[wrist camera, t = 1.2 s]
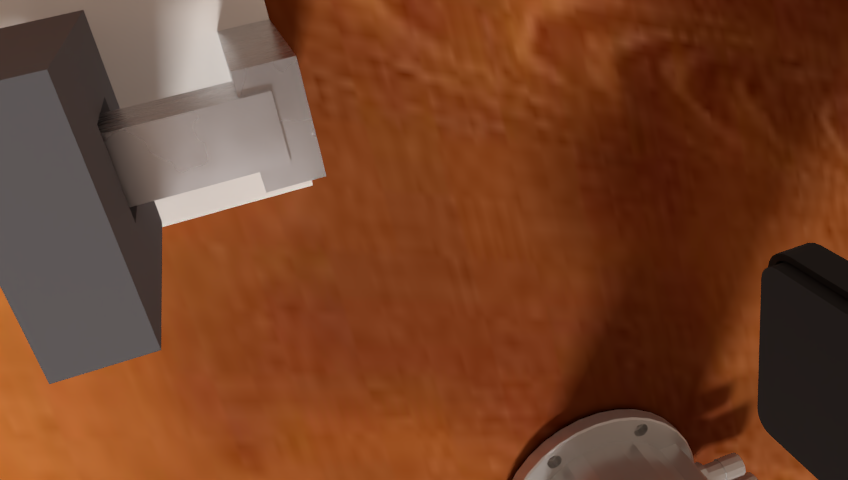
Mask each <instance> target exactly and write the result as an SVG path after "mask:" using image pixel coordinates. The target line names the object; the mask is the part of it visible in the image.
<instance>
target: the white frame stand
mask: <svg viewBox="0 0 848 480" xmlns="http://www.w3.org/2000/svg"><path fill="white" fill-rule="evenodd" d="M217 33H218V36H219V40H220V43H221V46H222V50H223V53H224V57H225V60H226V63H227V67H228V70H229V73H230V77H231V80H232V81H230V82H226V83H222V84H218V85H214V86H210V87H206V88H202V89H198V90H194V91H190V92H186V93H182V94H178V95H174V96H170V97H166V98H162V99H158V100H154V101H150V102H146V103H142V104H138V105H134V106H129V107H125V108H121V109H117V110H113V111H109V112H105V113H101V114H100V115H99V119H98V123H97V125H98V128H99V131H100V133H101V136H102V138H103V141H104V143H105V146H106V149H107V151H108V154H109V156H110V159H111V161H112V164H113V167H114V169H115V172H116V174H117V177H118V179H119V182H120V185H121V187H122V190H123V192H124V195H125V197H126V200H127V203H128V205H129V207H133V206H137V205H140V204H144V203H148V202H151V201H155V200H159V199H162V198H166V197H170V196H174V195H177V194H181V193H185V192H188V191H192V190H196V189H199V188H203V187H207V186H210V185H214V184H218V183H221V182H225V181H229V180H233V179H236V178H240V177H244V176H247V175H251V174H255V173H258V172H260V175H261V178H262V181H263V184H264V187H265V190H266V193H267V192H270V191H274V190H278V189H281V188H285V187H288V186H292V185H296V184H299V183H303V182H307V181H310V180H314V179H317V178H321V177H325V176H326V173H325V169H324V165H323V161H322V157H321V153H320V149H319V145H318V141H317V137H316V133H315V129H314V125H313V121H312V117H311V113H310V109H309V105H308V101H307V97H306V93H305V89H304V85H303V81H302V77H301V74H300V70H299V66H298V62H297V58H296V55H295V54H294V52H293V51H292V50H291V48H290V47H289V45H288V44H287V43H286V41H285V40H284V39H283V37H282V36H281V35H280V33H279V32H278V30H277V29H276V28H275V26H274V25H273V24H272V22H271V21H270V19H267V20H263V21H258V22H254V23H250V24H246V25H241V26H237V27H233V28H229V29H224V30H220V31H217Z"/></svg>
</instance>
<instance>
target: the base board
mask: <svg viewBox="0 0 848 480" xmlns="http://www.w3.org/2000/svg"><path fill="white" fill-rule="evenodd" d="M80 10H84V13H85V15H86V18H87V21H88V23H89V26H90V29H91V32H92V34H93V37H94V40H95V42H96V45H97V48H98V50H99V53H100V56H101V59H102V61H103V64H104V67H105V69H106V72H107V75H108V77H109V80H110V83H111V86H112V88H113V91H114V94H115V96H116V99H117V102H118V104H119V107H120V109H121V108H125V107H129V106H134V105H138V104H142V103H146V102H150V101H154V100H158V99H162V98H166V97H170V96H174V95H178V94H182V93H186V92H190V91H194V90H198V89H202V88H206V87H210V86H214V85H218V84H222V83H226V82H230V81H232V80H231V77H230V73H229V70H228V67H227V63H226V60H225V57H224V53H223V50H222V46H221V43H220V40H219V36H218V33H217V31H220V30H224V29H229V28H233V27H237V26H241V25H246V24H250V23H254V22H258V21H263V20H267V19H269V16H268V13H267V9H266V5H265V1H264V0H0V28H4V27H8V26H13V25H17V24H22V23H26V22H31V21H35V20H40V19H44V18H49V17H53V16H58V15H62V14H67V13H71V12H76V11H80ZM312 185H313V184H312V180H310V181H307V182H303V183H299V184H296V185H292V186H288V187H285V188H281V189H278V190H274V191H270V192H267V193H266V190H265V187H264V184H263V181H262V178H261V175H260V172H258V173H255V174H251V175H247V176H244V177H240V178H236V179H233V180H229V181H225V182H221V183H218V184H214V185H210V186H207V187H203V188H199V189H196V190H192V191H188V192H185V193H181V194H177V195H174V196H170V197H166V198H162V199H159V200H155V201H154V202H155V204H156V207H157V210H158V212H159V215H160V218H161V221H162V227H164V226H168V225H171V224H175V223H179V222H182V221H186V220H189V219H193V218H197V217H200V216H204V215H207V214H211V213H215V212H218V211H222V210H225V209H229V208H233V207H236V206H240V205H243V204H247V203H251V202H254V201H258V200H261V199H265V198H269V197H272V196H276V195H279V194H283V193H287V192H290V191H294V190H297V189H301V188H305V187H308V186H312Z"/></svg>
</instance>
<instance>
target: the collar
mask: <svg viewBox="0 0 848 480" xmlns="http://www.w3.org/2000/svg"><path fill="white" fill-rule="evenodd" d="M117 109H120V107H119V104H118V102H117V99H116V96H115V94H114V91H113V88H112V86H111V83H110V80H109V77H108V75H107V72H106V69H105V67H104V64H103V61H102V59H101V56H100V53H99V50H98V48H97V45H96V42H95V40H94V37H93V34H92V32H91V29H90V26H89V23H88V21H87V18H86V15H85V13H84V10H80V11H76V12H71V13H67V14H62V15H58V16H53V17H49V18H44V19H40V20H35V21H31V22H26V23H22V24H17V25H13V26H8V27H4V28H0V286H1V288H2V290H3V292H4V294H5V296H6V298H7V300H8V302H9V304H10V306H11V308H12V310H13V312H14V314H15V316H16V318H17V320H18V322H19V324H20V326H21V328H22V330H23V332H24V334H25V336H26V338H27V340H28V342H29V344H30V346H31V348H32V350H33V352H34V354H35V356H36V358H37V360H38V362H39V364H40V366H41V368H42V370H43V372H44V374H45V376H46V378H47V380H48V382H49V384H51V383H55V382H58V381H61V380H65V379H68V378H71V377H74V376H78V375H81V374H84V373H87V372H91V371H94V370H97V369H100V368H104V367H107V366H110V365H114V364H117V363H120V362H123V361H127V360H130V359H133V358H136V357H140V356H143V355H146V354H150V353H153V352H156V351H159V350H161V288H162V221H161V218H160V215H159V212H158V210H157V207H156V204H155V202H154V201H151V202H148V203H144V204H140V205H137V206H133V207H129V205H128V203H127V200H126V197H125V195H124V192H123V190H122V187H121V185H120V182H119V179H118V177H117V174H116V172H115V169H114V167H113V164H112V161H111V159H110V156H109V154H108V151H107V149H106V146H105V143H104V141H103V138H102V136H101V133H100V131H99V128H98V125H97V123H98V119H99V115H100V114H101V113H105V112H109V111H113V110H117Z"/></svg>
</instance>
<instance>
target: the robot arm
mask: <svg viewBox="0 0 848 480" xmlns="http://www.w3.org/2000/svg"><path fill="white" fill-rule="evenodd" d="M758 414H759V418H760V420H761V423H762V425H763V426H764V428H765V429H766V431H767V432H768V433H769V434H770V435H771V436H772V437H773V438H774V439H775V440H776V441H777V442H778V443H779V444H781V445H782V446H783V447H784V448H785V449H786V450H787V451H788V452H789V453H790V454H791V455H792V456H794V457H795V458H796V459H797V460H798V461H799V462H800V463H801V464H802V465H803V466H804V467H805V468H806V469H808V470H809V471H810V472H811V473H812V474H813V475H814V476H815V477H816V478H817V479H818V480H848V261H847V260H846V259H844V258H842V257H840V256H839V255H837V254H835V253H833V252H831V251H830V250H828V249H826V248H824V247H823V246H821V245H818V244H816V243H807V244H804V245H801V246H798V247H795V248H792V249H789V250H786V251H783V252H780V253H778V254H776V255H774V256H772V258H771V259H770V261H769V265H768V268H766V269H765V270H764V271H763V273H762V278H761V312H760V345H759V379H758ZM745 472H746V470H745V465H744V463H743V461H742V459H741V458H740V457H739V455H738V454H736V453H731V454H728V455H725V456H723V457H720V458H718V459H715V460H714V461H713V462H710V463H708V464H705V465H702V464H701V463H699V462H696V463H694V460H693V455H692V451H691V449H690V447H689V445H688V443H687V441H686V440H685V438H684V437H683V436H682V435H681V434H680V433H679V432H678V430H677V429H676V428H675V427H674V426H673V425H671V424H670V423H669V422H668V421H667V420H665V419H664V418H662V417H660V416H658V415H655V414H653V413H651V412H647V411H641V410H636V409H617V410H611V411H606V412H601V413H597V414H594V415H591V416H588V417H586V418H583V419H580V420H578V421H576V422H574V423H572V424H570V425H568V426H567V427H565V428H563V429H561V430H560V431H558V432H557V433H555V434H554V435H553V436H551V437H550V438H548V439H547V440H546V441H544V442H543V443H542V444H541V445H540V446H539V447H538V448H537V449H536V450H535V451H534V452H533V453H532V454H531V455H530V456H529V457H528V458H527V459H526V461H525V462H524V463H523V464H522V466H521V467H520V468H519V470H518V471H517V472H516V474H515V476H514V478H513V480H758V479H757V478H756V477H755V476H754V475H753V474H752V473H750V472H746V473H745Z"/></svg>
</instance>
